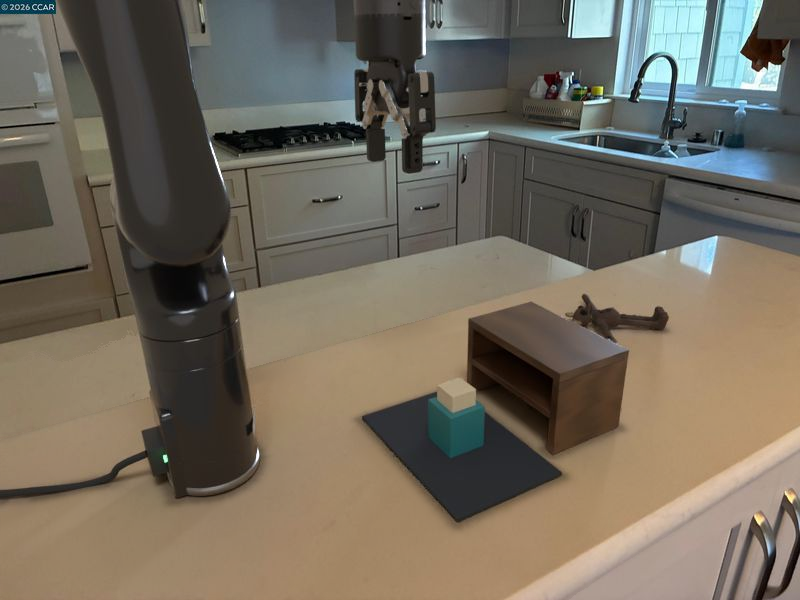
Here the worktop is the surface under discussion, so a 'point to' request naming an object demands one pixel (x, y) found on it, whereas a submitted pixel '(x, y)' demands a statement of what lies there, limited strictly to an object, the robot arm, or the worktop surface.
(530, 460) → the mat
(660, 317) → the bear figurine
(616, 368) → the shelf
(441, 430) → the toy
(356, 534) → the worktop surface
